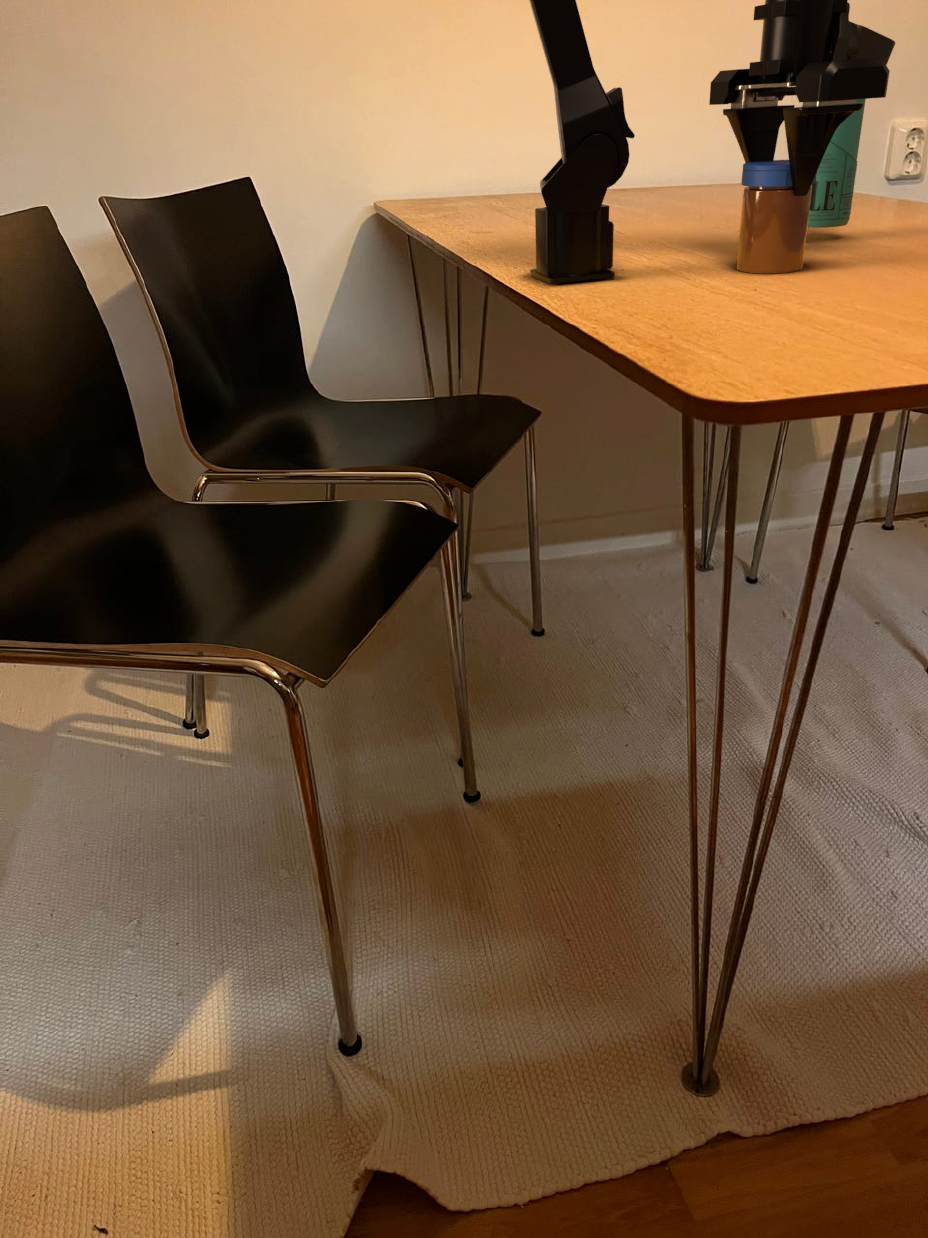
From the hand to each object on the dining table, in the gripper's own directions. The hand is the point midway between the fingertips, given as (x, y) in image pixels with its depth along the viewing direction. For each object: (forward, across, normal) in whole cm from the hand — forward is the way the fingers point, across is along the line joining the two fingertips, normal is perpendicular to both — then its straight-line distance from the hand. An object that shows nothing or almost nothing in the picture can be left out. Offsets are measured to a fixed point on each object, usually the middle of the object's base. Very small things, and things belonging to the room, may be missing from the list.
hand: (780, 193), depth 84 cm
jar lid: (-2, 0, 0) cm, 2 cm away
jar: (+6, 0, 0) cm, 7 cm away
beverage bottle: (+7, +14, -14) cm, 21 cm away
